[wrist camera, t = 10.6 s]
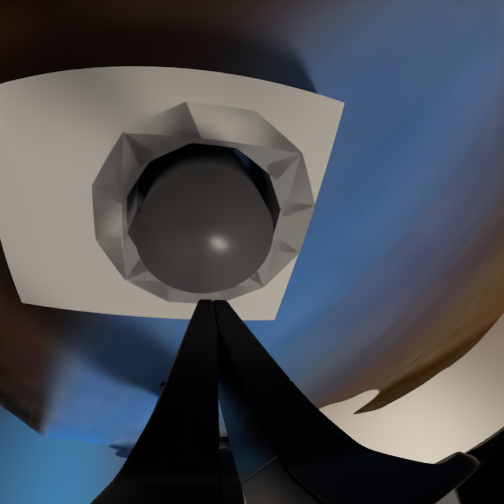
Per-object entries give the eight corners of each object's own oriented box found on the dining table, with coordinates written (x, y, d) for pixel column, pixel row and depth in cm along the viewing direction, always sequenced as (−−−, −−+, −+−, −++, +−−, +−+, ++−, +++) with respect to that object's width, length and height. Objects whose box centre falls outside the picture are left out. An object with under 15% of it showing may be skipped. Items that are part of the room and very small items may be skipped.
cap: (241, 242, 18) (256, 295, 14) (148, 235, 17) (137, 289, 13) (262, 153, 15) (289, 185, 11) (154, 140, 13) (137, 167, 9)
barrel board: (265, 290, 21) (275, 319, 18) (36, 275, 16) (22, 302, 14) (319, 97, 13) (345, 103, 11) (15, 82, 9) (-14, 88, 6)
